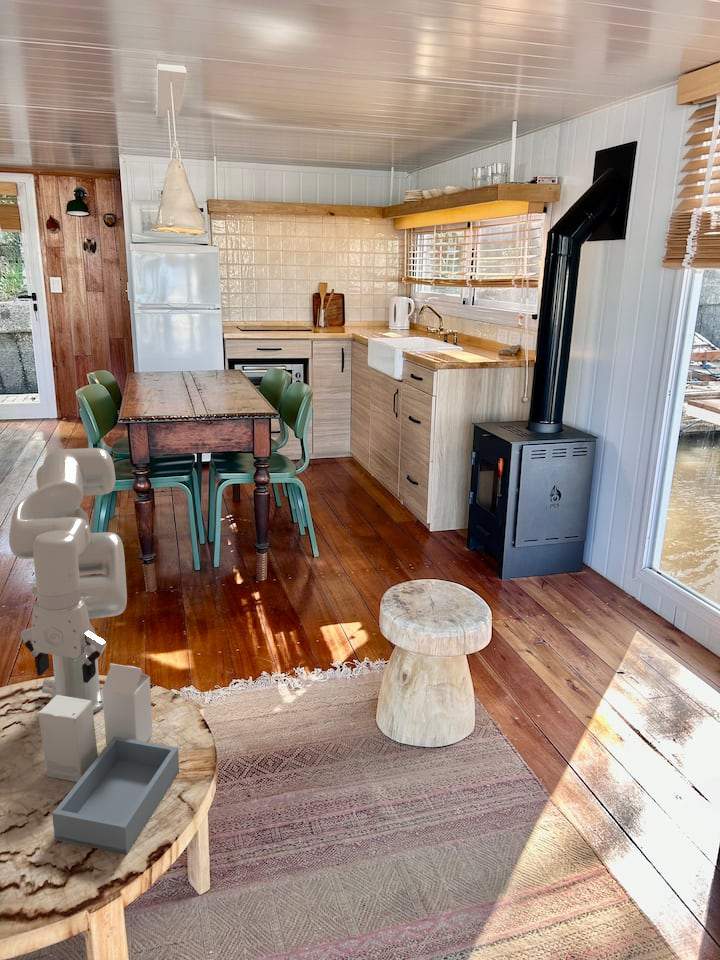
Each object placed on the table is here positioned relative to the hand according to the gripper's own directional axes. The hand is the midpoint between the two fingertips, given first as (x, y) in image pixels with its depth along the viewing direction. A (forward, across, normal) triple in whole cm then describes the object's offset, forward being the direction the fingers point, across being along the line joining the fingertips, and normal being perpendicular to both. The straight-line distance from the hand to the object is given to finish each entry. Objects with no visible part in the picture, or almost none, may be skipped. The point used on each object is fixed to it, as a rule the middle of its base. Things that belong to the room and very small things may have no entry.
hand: (66, 675), depth 143 cm
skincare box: (+23, 0, 0) cm, 23 cm away
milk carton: (+23, +7, +11) cm, 26 cm away
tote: (+22, +13, -6) cm, 27 cm away
